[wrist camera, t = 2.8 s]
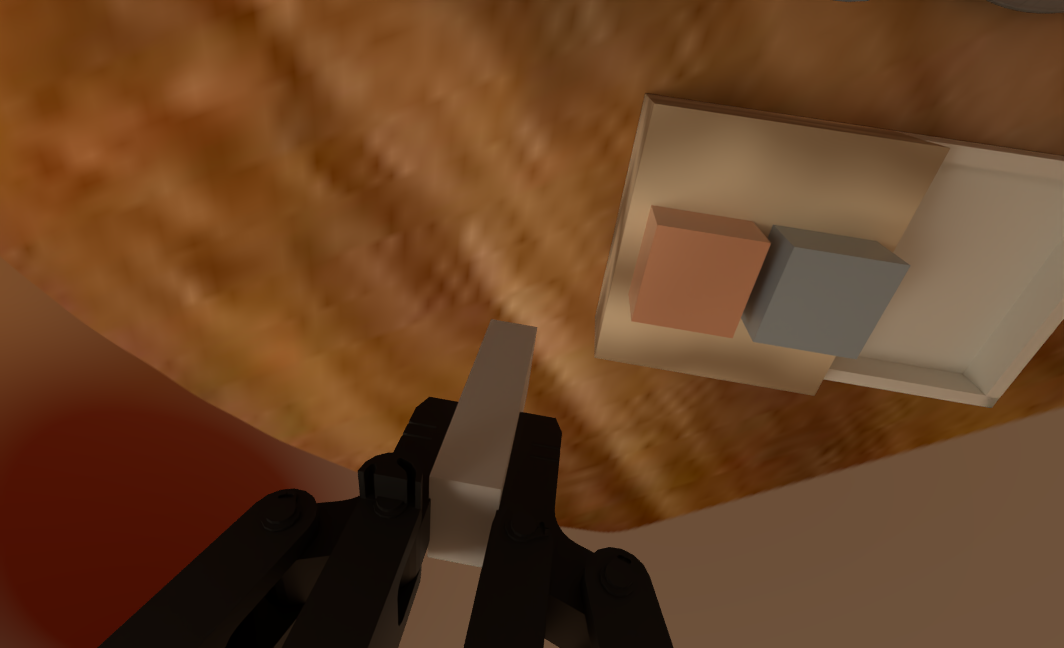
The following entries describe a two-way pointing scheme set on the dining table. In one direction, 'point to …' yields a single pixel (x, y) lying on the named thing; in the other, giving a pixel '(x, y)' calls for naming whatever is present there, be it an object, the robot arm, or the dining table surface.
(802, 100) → the dining table surface
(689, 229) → the salmon orange square block
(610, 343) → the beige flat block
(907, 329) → the tray
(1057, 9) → the flying saucer
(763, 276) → the slate gray square block
